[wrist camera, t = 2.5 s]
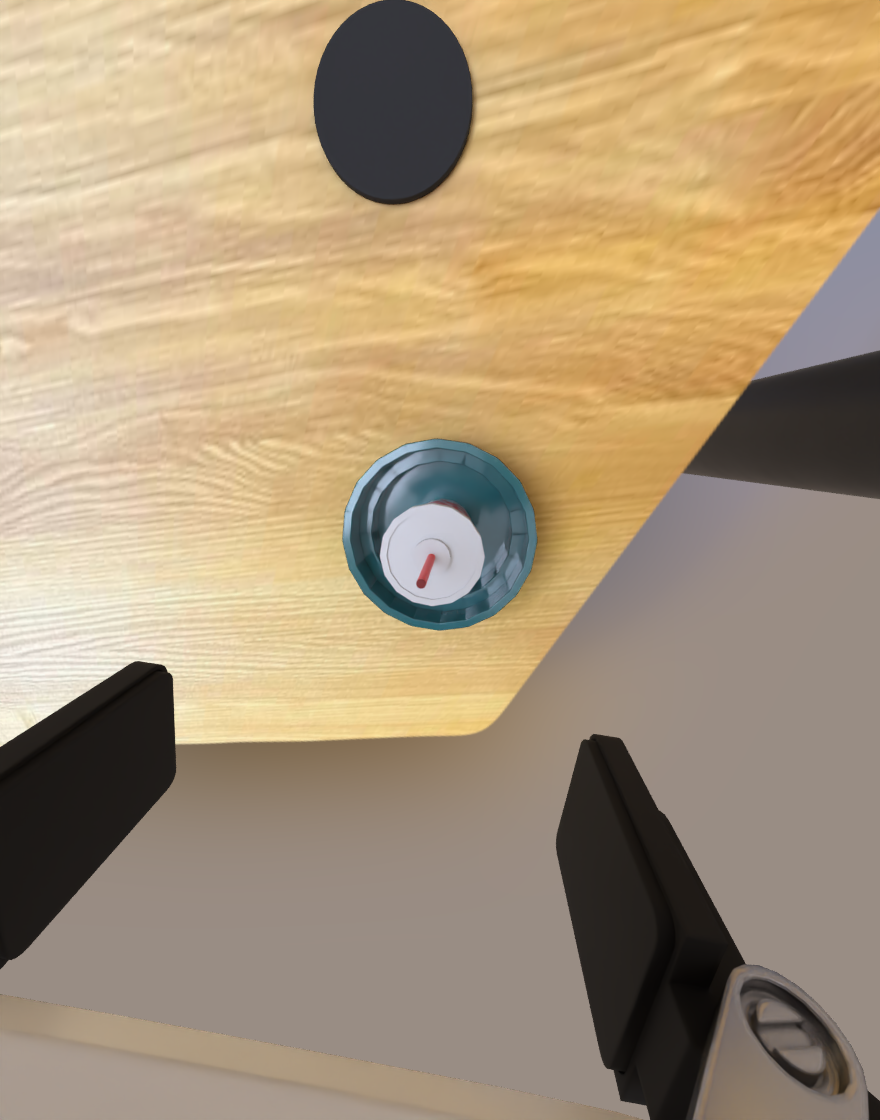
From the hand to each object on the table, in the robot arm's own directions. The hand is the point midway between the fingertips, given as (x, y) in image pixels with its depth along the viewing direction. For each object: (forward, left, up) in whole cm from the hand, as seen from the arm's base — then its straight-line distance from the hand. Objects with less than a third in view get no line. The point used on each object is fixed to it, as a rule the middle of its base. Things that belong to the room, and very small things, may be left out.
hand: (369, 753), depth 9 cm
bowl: (0, 0, -25) cm, 25 cm away
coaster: (+7, -26, -25) cm, 37 cm away
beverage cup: (0, 0, -25) cm, 25 cm away
